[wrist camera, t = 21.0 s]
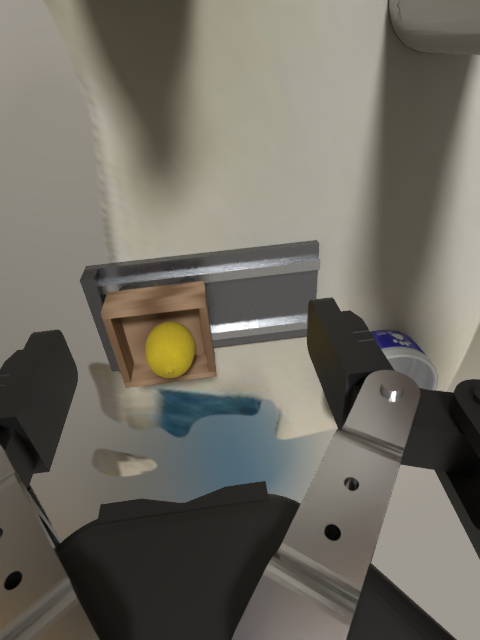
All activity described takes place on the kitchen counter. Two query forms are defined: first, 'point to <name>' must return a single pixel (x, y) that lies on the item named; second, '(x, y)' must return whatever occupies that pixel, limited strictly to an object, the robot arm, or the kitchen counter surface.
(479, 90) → the kitchen counter surface
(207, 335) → the wooden tray box
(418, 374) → the dog bowl
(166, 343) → the lemon
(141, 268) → the track
